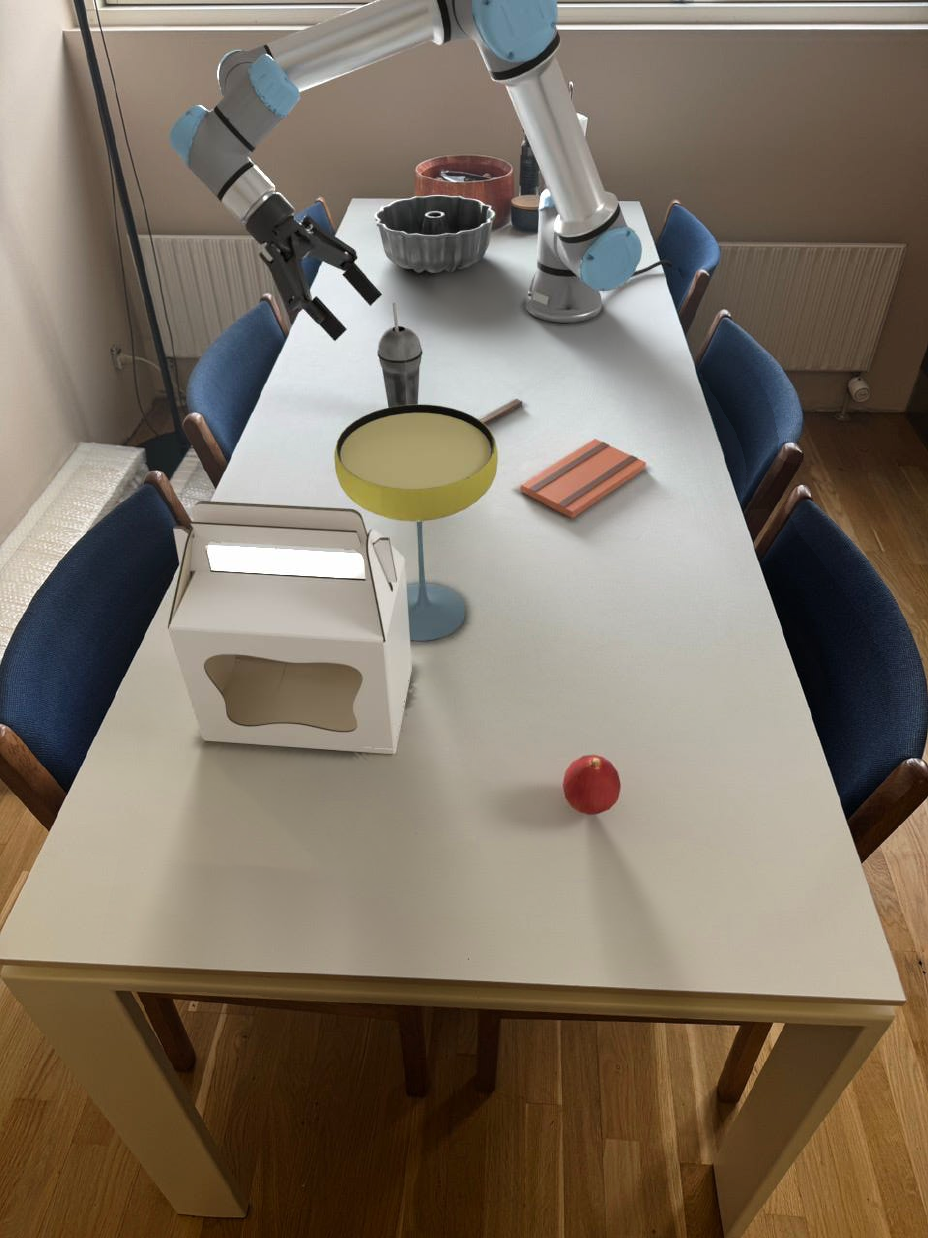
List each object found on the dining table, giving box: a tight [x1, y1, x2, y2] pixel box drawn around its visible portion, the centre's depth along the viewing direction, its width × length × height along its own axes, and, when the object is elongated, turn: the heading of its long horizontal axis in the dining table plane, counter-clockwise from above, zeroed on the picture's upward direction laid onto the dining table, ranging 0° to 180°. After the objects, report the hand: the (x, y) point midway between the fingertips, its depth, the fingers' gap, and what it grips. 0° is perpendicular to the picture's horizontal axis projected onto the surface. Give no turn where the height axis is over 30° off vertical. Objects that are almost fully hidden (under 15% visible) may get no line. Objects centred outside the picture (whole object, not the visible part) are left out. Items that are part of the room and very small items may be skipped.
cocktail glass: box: [334, 403, 499, 642], centre depth 107 cm, size 18×18×25 cm
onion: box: [562, 754, 622, 816], centre depth 91 cm, size 6×6×8 cm
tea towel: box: [520, 438, 647, 519], centre depth 137 cm, size 18×10×1 cm, turn 136°
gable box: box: [167, 500, 413, 755], centre depth 95 cm, size 22×13×28 cm, turn 85°
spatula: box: [477, 398, 523, 426], centre depth 149 cm, size 21×6×1 cm, turn 136°
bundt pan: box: [374, 194, 496, 274], centre depth 199 cm, size 26×26×10 cm
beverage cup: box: [376, 302, 423, 408], centre depth 145 cm, size 7×7×20 cm
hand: (359, 317), depth 143 cm, fingers open, 13 cm apart
